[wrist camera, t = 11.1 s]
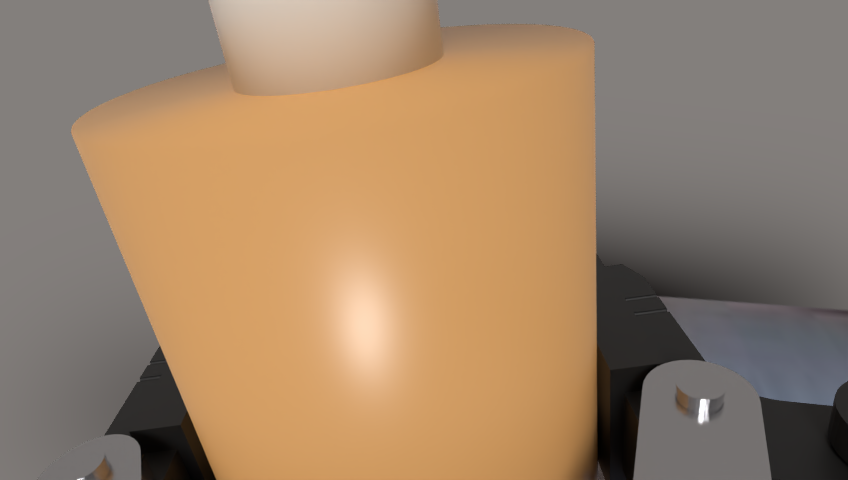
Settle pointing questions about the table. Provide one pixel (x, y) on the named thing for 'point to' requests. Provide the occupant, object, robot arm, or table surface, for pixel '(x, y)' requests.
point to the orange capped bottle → (367, 241)
